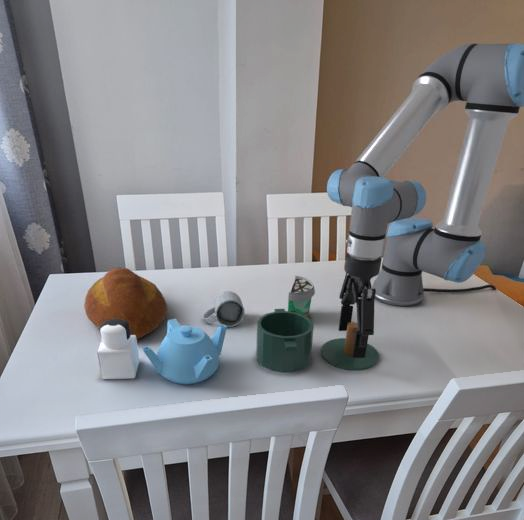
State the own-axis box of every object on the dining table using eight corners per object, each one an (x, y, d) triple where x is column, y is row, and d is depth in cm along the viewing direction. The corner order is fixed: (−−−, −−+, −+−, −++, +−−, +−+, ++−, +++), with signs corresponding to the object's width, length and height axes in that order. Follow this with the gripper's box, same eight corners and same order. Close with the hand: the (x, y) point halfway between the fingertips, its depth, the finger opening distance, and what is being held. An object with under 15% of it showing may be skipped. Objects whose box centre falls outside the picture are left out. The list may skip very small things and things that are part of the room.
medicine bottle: (108, 361, 109) (100, 315, 103) (139, 361, 110) (133, 315, 103) (101, 379, 103) (92, 331, 97) (135, 379, 103) (128, 331, 97)
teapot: (231, 356, 112) (230, 316, 107) (212, 393, 100) (210, 350, 94) (170, 348, 115) (166, 308, 109) (144, 383, 102) (138, 340, 97)
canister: (302, 339, 120) (305, 305, 115) (317, 379, 105) (321, 343, 100) (252, 340, 119) (253, 306, 114) (261, 382, 104) (262, 345, 99)
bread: (89, 351, 113) (80, 304, 106) (84, 295, 139) (76, 254, 132) (177, 338, 119) (173, 293, 112) (157, 286, 145) (153, 247, 139)
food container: (309, 330, 124) (312, 295, 119) (286, 327, 125) (288, 293, 120) (314, 310, 135) (317, 277, 129) (293, 307, 136) (295, 274, 130)
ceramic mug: (241, 312, 132) (240, 286, 128) (244, 326, 125) (244, 299, 121) (202, 314, 130) (201, 289, 126) (204, 329, 124) (203, 302, 120)
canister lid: (367, 341, 120) (373, 310, 116) (385, 371, 109) (392, 338, 104) (315, 343, 119) (318, 312, 114) (327, 373, 107) (331, 340, 103)
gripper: (333, 236, 110) (324, 319, 122) (363, 277, 90) (349, 372, 101) (364, 236, 111) (352, 318, 122) (401, 276, 91) (383, 370, 102)
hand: (351, 343), depth 112 cm, fingers open, 12 cm apart
